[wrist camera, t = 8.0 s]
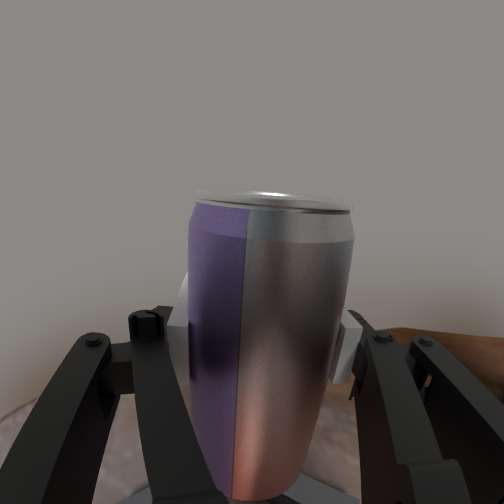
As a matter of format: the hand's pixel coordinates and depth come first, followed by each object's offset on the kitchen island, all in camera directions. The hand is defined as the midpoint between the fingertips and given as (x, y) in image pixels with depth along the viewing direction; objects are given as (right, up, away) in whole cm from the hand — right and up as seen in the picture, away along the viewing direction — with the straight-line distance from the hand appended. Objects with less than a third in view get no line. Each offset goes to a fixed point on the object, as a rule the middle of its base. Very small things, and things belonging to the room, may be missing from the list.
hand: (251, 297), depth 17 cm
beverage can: (0, -10, -3) cm, 11 cm away
